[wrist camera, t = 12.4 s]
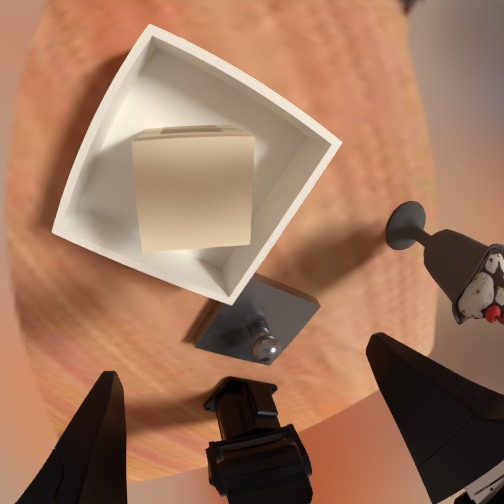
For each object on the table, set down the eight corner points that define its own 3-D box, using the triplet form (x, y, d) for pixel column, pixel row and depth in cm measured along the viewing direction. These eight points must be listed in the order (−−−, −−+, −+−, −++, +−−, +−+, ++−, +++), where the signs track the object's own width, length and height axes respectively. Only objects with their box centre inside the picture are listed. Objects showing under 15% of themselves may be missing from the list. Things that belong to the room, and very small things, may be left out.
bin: (222, 272, 22) (231, 305, 19) (72, 207, 17) (51, 232, 13) (312, 133, 18) (342, 142, 15) (155, 39, 13) (149, 23, 10)
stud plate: (266, 356, 28) (280, 393, 24) (193, 337, 25) (199, 379, 21) (315, 297, 26) (338, 333, 22) (240, 266, 22) (255, 305, 18)
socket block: (228, 202, 19) (250, 244, 14) (151, 207, 18) (142, 252, 13) (230, 124, 17) (254, 136, 11) (147, 128, 15) (131, 141, 10)
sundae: (365, 243, 24) (486, 366, 12) (405, 179, 22) (551, 270, 9) (404, 266, 27) (503, 367, 14) (439, 211, 25) (553, 295, 12)
